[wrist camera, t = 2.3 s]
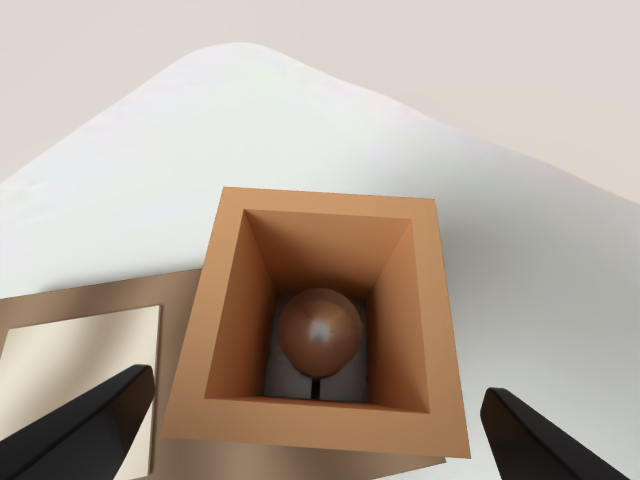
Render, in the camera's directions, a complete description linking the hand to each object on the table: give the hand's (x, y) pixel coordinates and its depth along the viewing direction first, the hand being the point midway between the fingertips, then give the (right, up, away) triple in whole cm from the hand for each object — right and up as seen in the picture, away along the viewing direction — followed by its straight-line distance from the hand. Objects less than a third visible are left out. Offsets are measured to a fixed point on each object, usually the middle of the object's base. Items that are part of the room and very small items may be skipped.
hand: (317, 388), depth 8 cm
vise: (-2, -2, +8) cm, 9 cm away
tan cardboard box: (0, -1, +6) cm, 6 cm away
